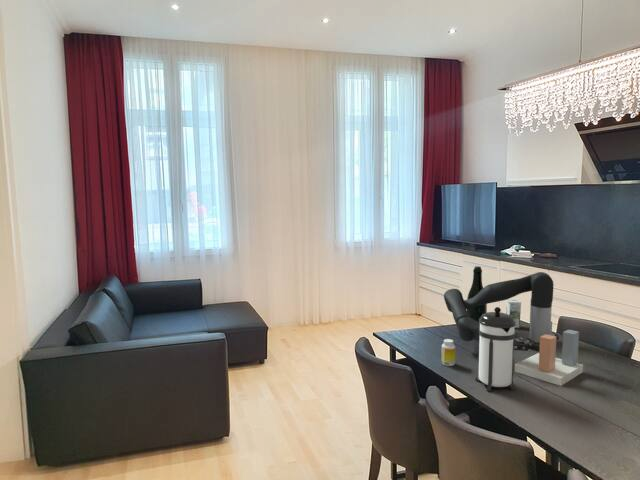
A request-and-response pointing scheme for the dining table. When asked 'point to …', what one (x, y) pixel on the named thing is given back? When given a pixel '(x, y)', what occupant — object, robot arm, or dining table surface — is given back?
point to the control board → (555, 376)
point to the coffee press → (496, 349)
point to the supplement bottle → (448, 353)
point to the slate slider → (570, 347)
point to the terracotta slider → (547, 353)
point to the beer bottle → (475, 289)
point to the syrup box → (514, 310)
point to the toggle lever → (556, 336)
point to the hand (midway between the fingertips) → (542, 349)
